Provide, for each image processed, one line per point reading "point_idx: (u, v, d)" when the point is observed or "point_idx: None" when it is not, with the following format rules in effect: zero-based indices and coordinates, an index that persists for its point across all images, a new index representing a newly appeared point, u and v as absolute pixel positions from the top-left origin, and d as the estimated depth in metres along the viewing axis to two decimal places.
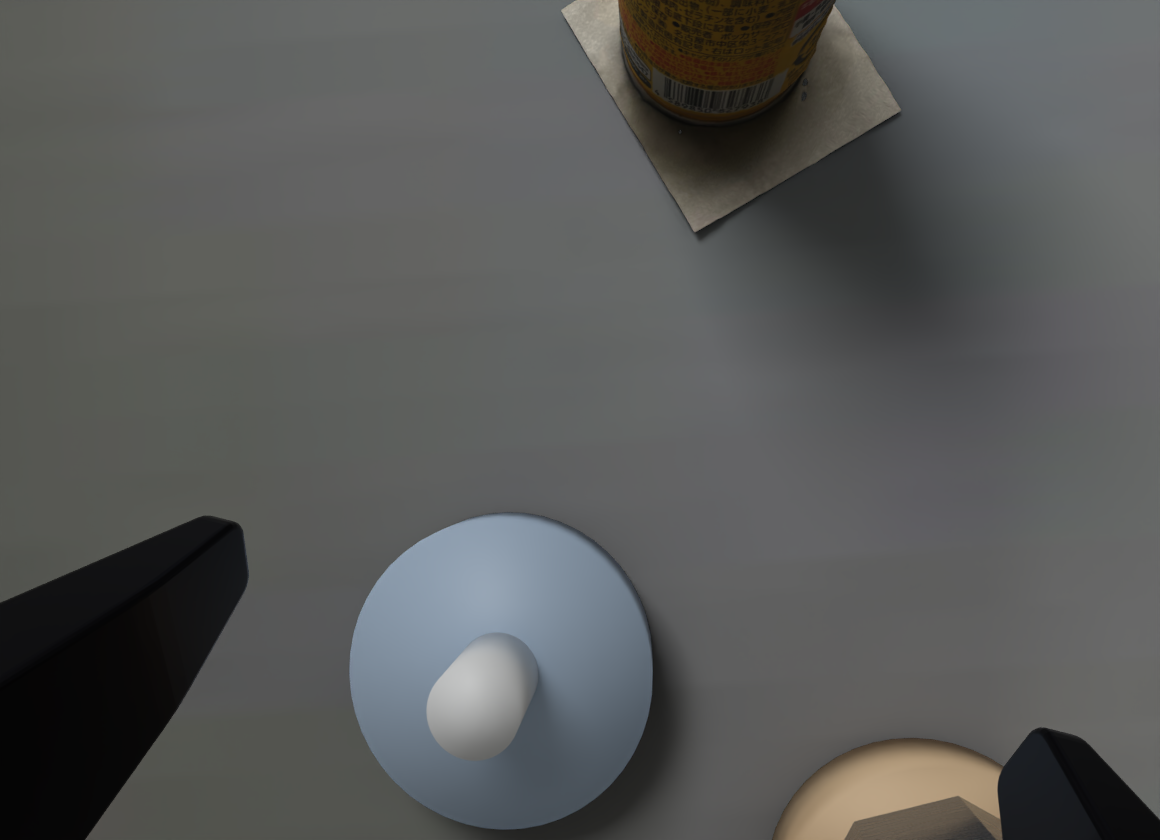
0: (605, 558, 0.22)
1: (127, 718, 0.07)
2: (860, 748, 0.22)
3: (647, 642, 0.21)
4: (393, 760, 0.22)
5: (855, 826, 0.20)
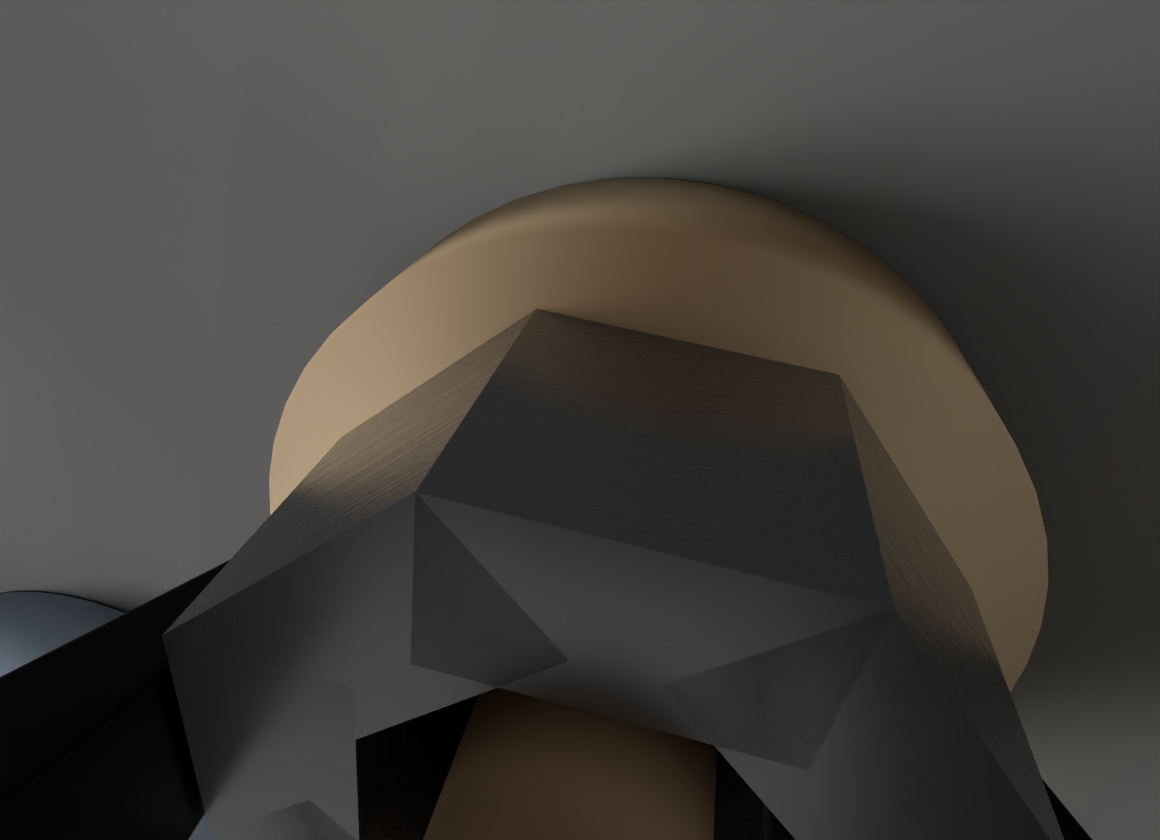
0: None
1: None
2: None
3: None
4: None
5: None
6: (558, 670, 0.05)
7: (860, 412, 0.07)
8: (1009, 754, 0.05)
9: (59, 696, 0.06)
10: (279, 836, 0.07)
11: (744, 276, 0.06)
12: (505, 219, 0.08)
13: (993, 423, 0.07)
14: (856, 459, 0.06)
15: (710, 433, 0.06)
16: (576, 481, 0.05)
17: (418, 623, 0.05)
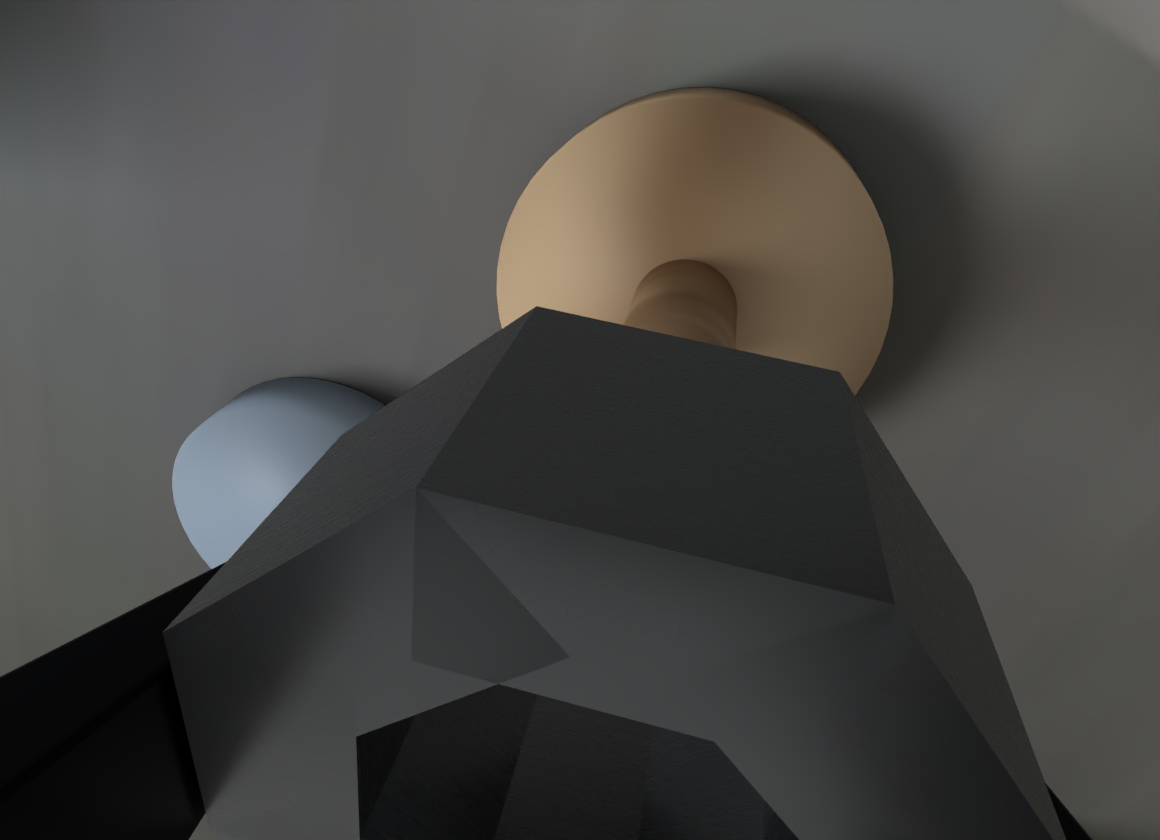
0: (242, 399, 0.22)
1: None
2: None
3: (306, 415, 0.21)
4: None
5: None
6: (558, 667, 0.05)
7: (860, 409, 0.07)
8: (1010, 751, 0.05)
9: (59, 696, 0.06)
10: (279, 834, 0.07)
11: (748, 119, 0.15)
12: (632, 104, 0.16)
13: (861, 189, 0.15)
14: (857, 456, 0.06)
15: (710, 430, 0.06)
16: (576, 477, 0.05)
17: (418, 620, 0.05)
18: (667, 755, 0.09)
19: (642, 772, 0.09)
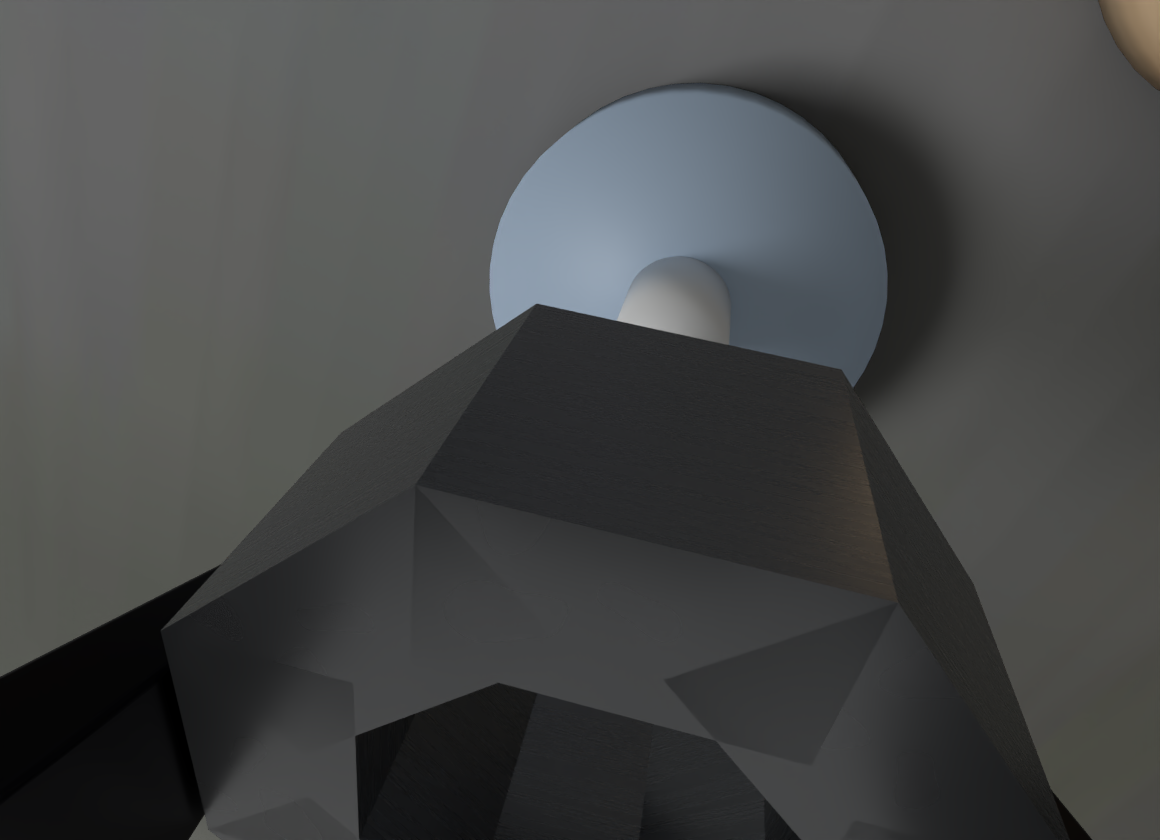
0: (617, 103, 0.16)
1: None
2: None
3: (740, 102, 0.14)
4: None
5: None
6: (559, 665, 0.05)
7: (862, 407, 0.07)
8: (1013, 750, 0.05)
9: (59, 696, 0.06)
10: (278, 833, 0.07)
11: None
12: None
13: None
14: (858, 454, 0.06)
15: (712, 427, 0.05)
16: (577, 475, 0.05)
17: (418, 618, 0.05)
18: (668, 755, 0.09)
19: (642, 772, 0.09)
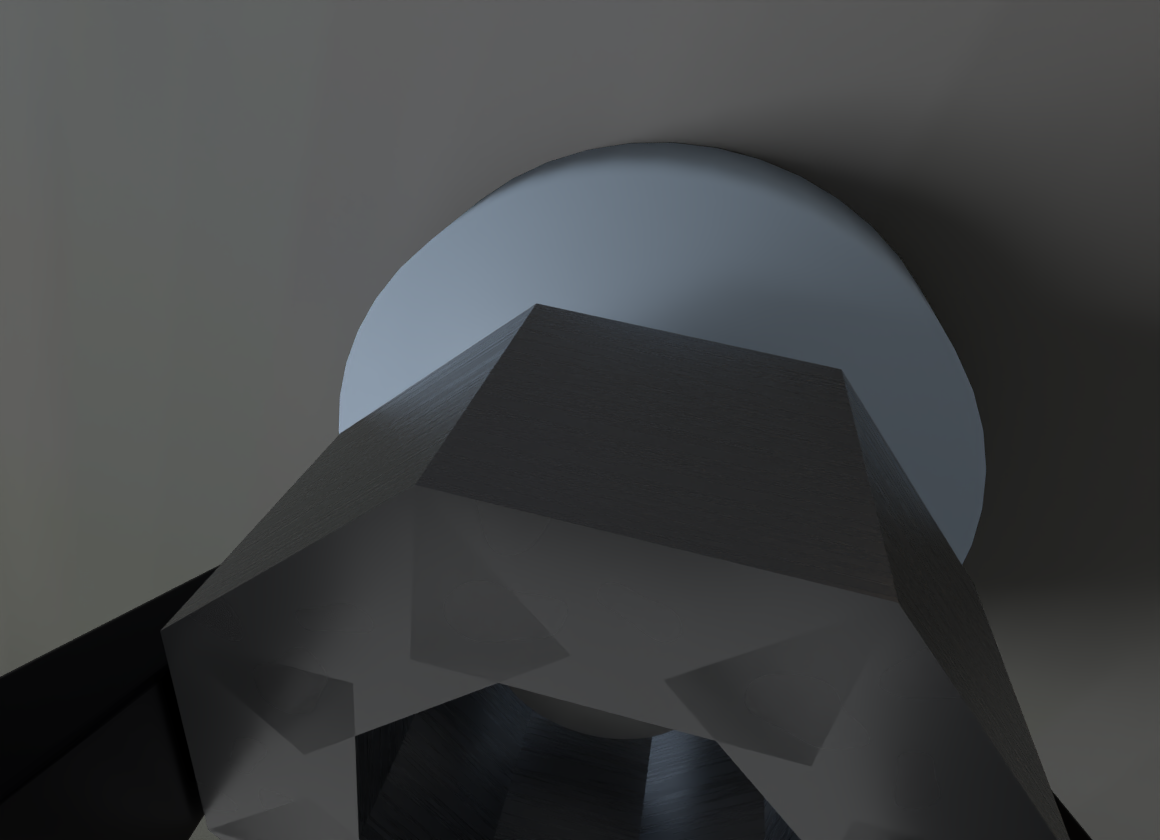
0: (529, 180, 0.09)
1: None
2: None
3: (736, 189, 0.08)
4: None
5: None
6: (559, 666, 0.05)
7: (862, 407, 0.07)
8: (1013, 750, 0.05)
9: (59, 696, 0.06)
10: (278, 834, 0.07)
11: None
12: None
13: None
14: (857, 454, 0.06)
15: (713, 426, 0.05)
16: (577, 475, 0.05)
17: (417, 618, 0.05)
18: (668, 754, 0.09)
19: (642, 771, 0.09)
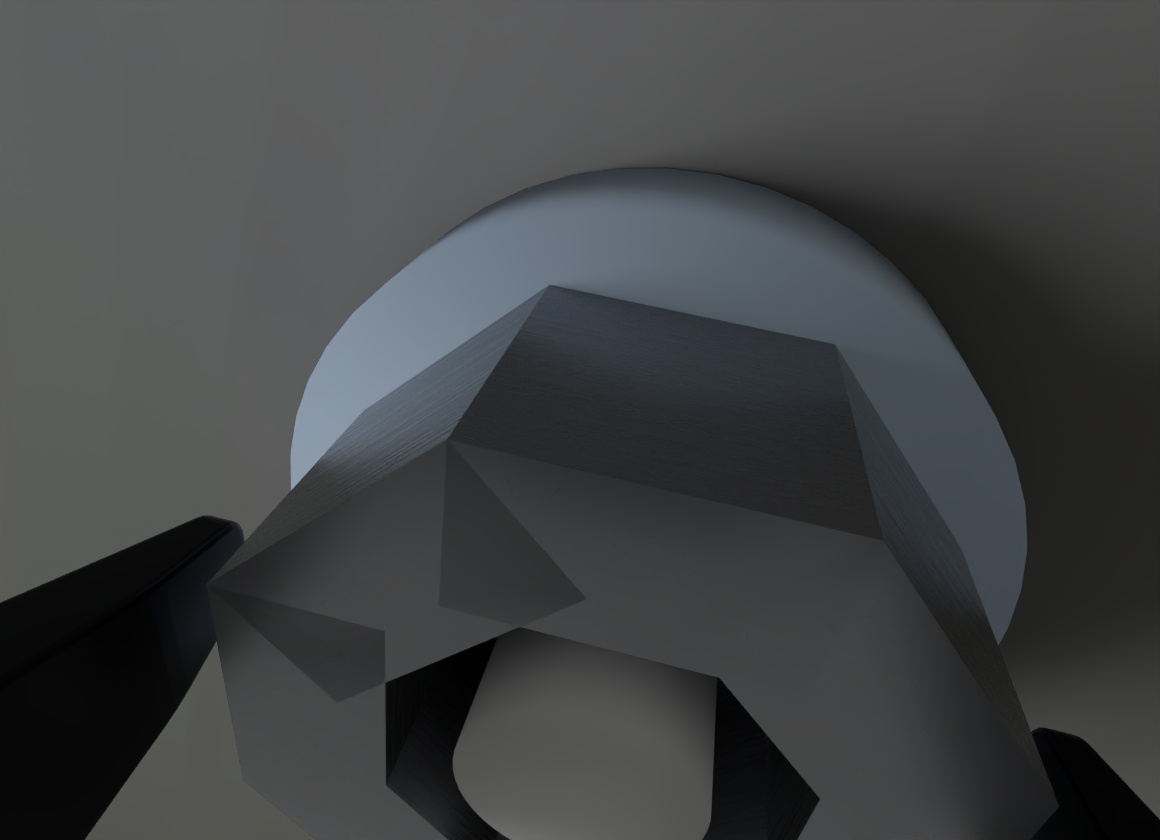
0: (500, 212, 0.08)
1: (127, 718, 0.07)
2: None
3: (739, 229, 0.07)
4: None
5: None
6: (576, 608, 0.05)
7: (855, 379, 0.07)
8: (992, 685, 0.06)
9: None
10: (310, 782, 0.07)
11: None
12: None
13: None
14: (851, 417, 0.06)
15: (714, 393, 0.06)
16: (592, 432, 0.05)
17: (446, 566, 0.05)
18: None
19: None
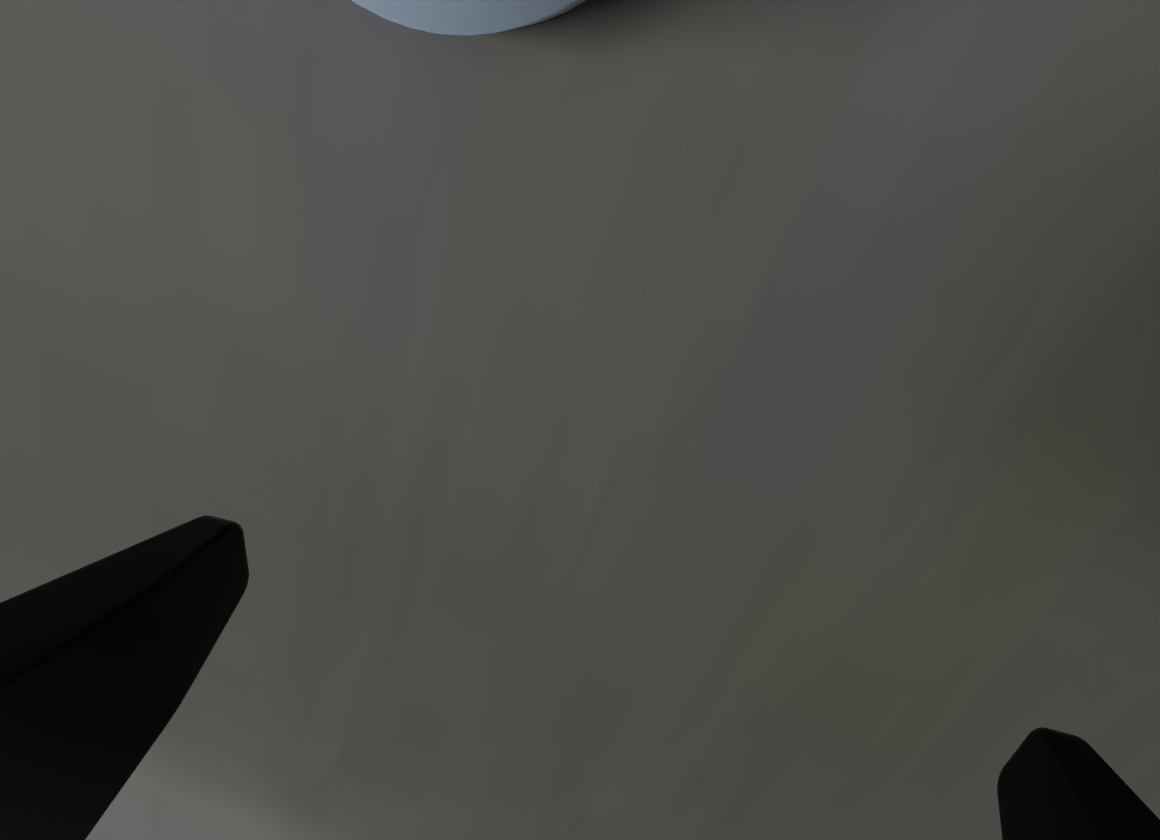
0: None
1: (127, 718, 0.07)
2: None
3: None
4: (519, 1, 0.14)
5: None
6: None
7: None
8: None
9: None
10: None
11: None
12: None
13: None
14: None
15: None
16: None
17: None
18: None
19: None
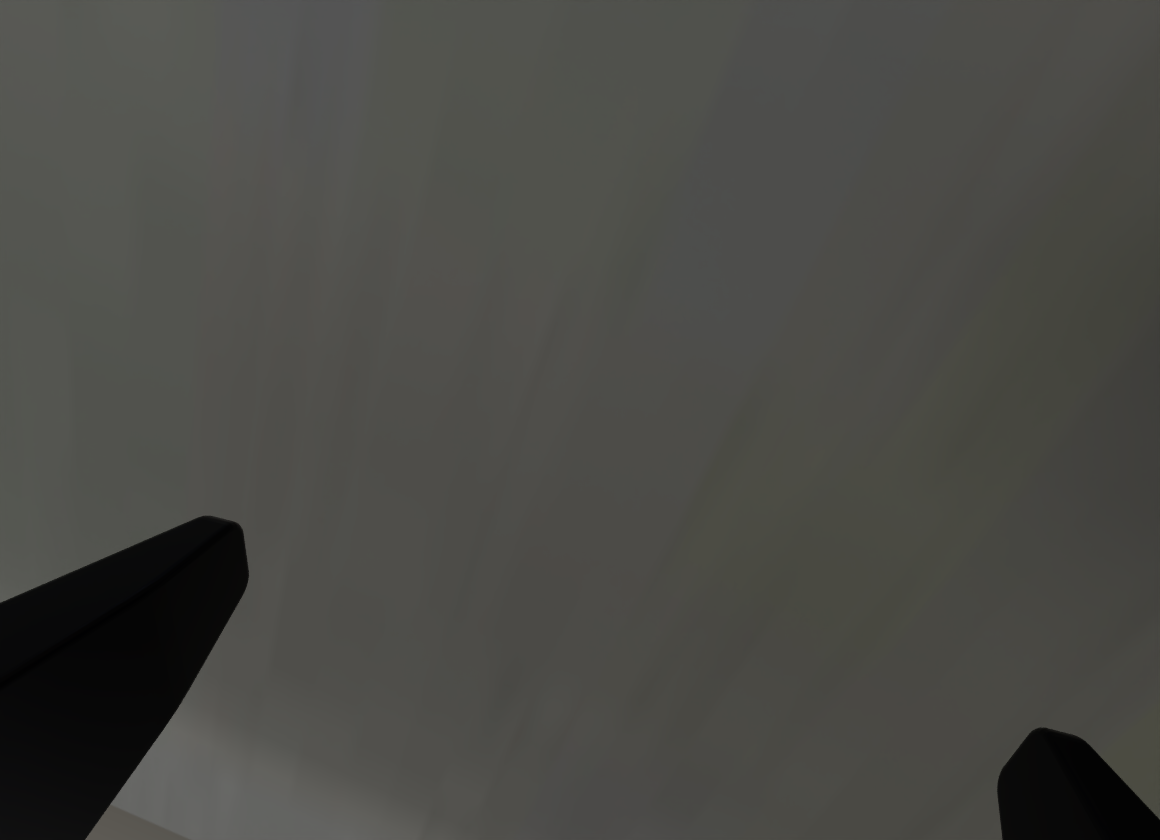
0: None
1: (127, 718, 0.07)
2: None
3: None
4: None
5: None
6: None
7: None
8: None
9: None
10: None
11: None
12: None
13: None
14: None
15: None
16: None
17: None
18: None
19: None
